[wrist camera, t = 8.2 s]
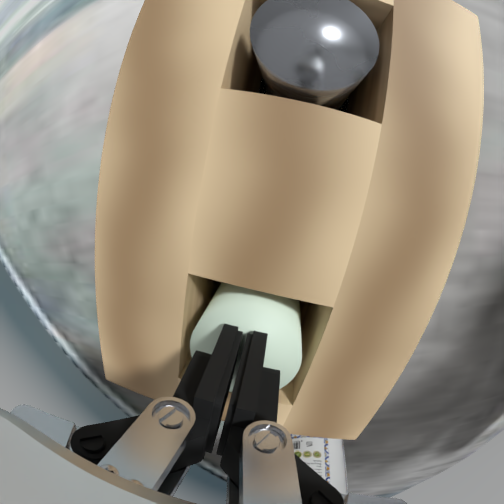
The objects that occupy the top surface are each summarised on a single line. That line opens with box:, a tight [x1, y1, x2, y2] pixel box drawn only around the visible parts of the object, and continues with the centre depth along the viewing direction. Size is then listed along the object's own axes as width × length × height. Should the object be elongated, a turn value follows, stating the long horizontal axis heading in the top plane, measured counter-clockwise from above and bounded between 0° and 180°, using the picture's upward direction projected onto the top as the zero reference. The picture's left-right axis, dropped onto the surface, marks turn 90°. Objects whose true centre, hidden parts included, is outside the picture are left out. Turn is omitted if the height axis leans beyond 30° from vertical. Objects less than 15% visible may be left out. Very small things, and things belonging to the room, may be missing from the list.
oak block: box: [95, 0, 484, 440], centre depth 13 cm, size 14×22×8 cm, turn 169°
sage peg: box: [190, 282, 302, 392], centre depth 14 cm, size 4×4×8 cm
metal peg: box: [250, 0, 379, 110], centre depth 10 cm, size 4×4×8 cm
